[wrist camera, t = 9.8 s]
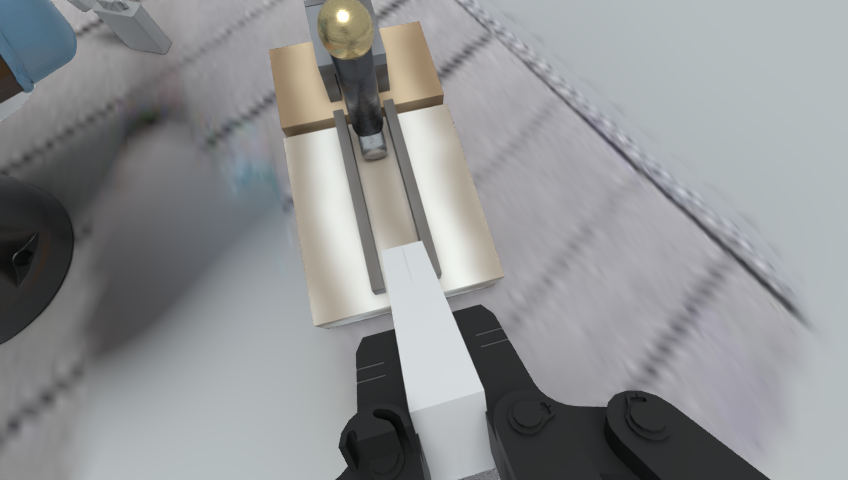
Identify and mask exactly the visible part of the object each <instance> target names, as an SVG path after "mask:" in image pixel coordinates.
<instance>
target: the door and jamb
mask: <svg viewBox="0 0 848 480" xmlns="http://www.w3.org/2000/svg"><path fill="white" fill-rule="evenodd" d="M326 1H327V0H306V1H304V5H305V10H306V14H307V19H308V24H309V28H310V33H311V38H312V42H307V43H302V44H297V45H292V46H286V47H281V48H276V49H271V50H269V55H270V61H271V67H272V73H273V79H274V85H275V91H276V97H277V104H278V110H279V116H280V122H281V128H282V130H283V131H284V133H285V135H286V136H287V138H283V140H284V146H285V153H286V159H287V165H288V171H289V177H290V183H291V189H292V196H293V202H294V208H295V214H296V220H297V226H298V232H299V238H300V245H301V251H302V257H303V263H304V269H305V275H306V281H307V287H308V294H309V300H310V306H311V312H312V318H313V324H314V326H316V327H321V328H326V329H330V328H334V327H338V326H341V325H345V324H349V323H353V322H357V321H360V320H364V319H368V318H372V317H376V316H379V315H383V314H387V313H391V312H392V310H391V304H390V298H389V292H388V287H387V281H386V275H385V269H384V264H383V258H382V252H381V251H382V250H386V249H390V248H394V247H398V246H402V245H406V244H410V243H414V242H418V241H422V242H423V245H424V247H425V249H426V252H427V254H428V257H429V259H430V261H431V264H432V266H433V269H434V271H435V273H436V276H437V278H438V281H439V283H440V285H441V288H442V290H443V293H444V295H445V297H446V298H448V297H452V296H455V295H459V294H463V293H467V292H471V291H474V290H478V289H482V288H486V287H490V286H493V285H495V284H496V283H497V282H498V281H499V280H501V279H502V278H503V277H504V273H503V270H502V267H501V264H500V261H499V258H498V255H497V252H496V249H495V246H494V243H493V240H492V237H491V234H490V231H489V228H488V225H487V222H486V219H485V216H484V213H483V210H482V207H481V204H480V201H479V198H478V195H477V192H476V189H475V186H474V183H473V180H472V177H471V174H470V171H469V168H468V165H467V162H466V159H465V156H464V153H463V150H462V147H461V144H460V141H459V139H458V136H457V133H456V130H455V127H454V124H453V121H452V118H451V115H450V112H449V109H448V106H447V104H443V96H444V94H443V91H442V88H441V85H440V82H439V79H438V76H437V73H436V70H435V67H434V64H433V61H432V58H431V55H430V52H429V49H428V46H427V43H426V40H425V37H424V34H423V31H422V28H421V25H420V22H419V21H418V22H413V23H408V24H402V25H397V26H392V27H386V28H381V29H379V28H378V24H377V21H376V17H375V14H374V10H373V7H372V3H371V0H358V1H360V2H361V3H362V4H363V5H364V6H365V7H366V9H367V10H368V12H369V14H370V15H371V18H372V21H373V25H374V38H373V42H372V45H371V48H372V54H373V60H374V66H375V73H376V79H377V85H378V91H379V97H380V104H381V110H382V116H383V122H384V125H383V128H382V130H383V134H384V138H385V142H386V146H387V153H386V154H385V155H384V156H382V157H380V158H377V159H366V158H364V157H363V156H362V153H361V149H360V145H359V140H358V136H357V134H356V133H355V132H354V130H353V128H352V125H351V121H350V118H349V115H348V111H347V108H346V105H345V102H344V98H343V95H342V92H341V89H340V85H339V82H338V79H337V76H336V72H335V69H334V66H333V62H332V59H331V56H330V53H329V52H328V51H327V50H326V49H325V48H324V46H323V45H322V43H321V41H320V39H319V36H318V32H317V16H318V13H319V10H320V8H321V7H322V5H323V4H324V3H325V2H326Z"/></svg>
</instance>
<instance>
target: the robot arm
mask: <svg viewBox="0 0 848 480" xmlns="http://www.w3.org/2000/svg"><path fill="white" fill-rule="evenodd" d="M76 48H77V40H76V36H75V33H74V31H73V29H72V27H71V26H70V24H69V23H68V21H67V20H66V19H65V18H64V16H63V15H62V14H61V13H60V11H59V10H58V9H57V8H56V7H55V5H54V4H53V3H52V2H51V1H50V0H0V104H1V103H3V102H5V101H6V100H8V99H10V98H12V97H13V96H15V95H17V94H19V93H21V92H22V91H23V92H25V93H29V92H32V90H33V89H34V84H35V83H37V82H38V81H40V80H42V79H43V78H45V77H46V76H48V75H49V74H51V73H52V72H54V71H56V70H57V69H59V68H60V67H62V66H63V65H65V64H67V63H68V62H69V61H71V59H72V58H73V57H74V55H75V53H76ZM71 252H72V230H71V225H70V222H69V219H68V216H67V214H66V212H65V210H64V209H63V207H62V206H61V205H60V204H59V202H58V201H57V200H56V199H55V198H53V197H52V196H51V195H49V194H48V193H46V192H45V191H43V190H41V189H38V188H36V187H33V186H31V185H29V184H26V183H24V182H21V181H19V180H17V179H14V178H11V177H8V176H4V175H1V174H0V343H2V342H4V341H5V340H7V339H9V338H10V337H12V336H13V335H15V334H16V333H17V332H19V331H20V330H21V329H23V328H24V327H25V326H26V325H27V324H29V323H30V322H31V321H32V320H33V319H34V318H35V317H36V316H37V315H38V314H39V313H40V312H41V311H42V310H43V308H44V307H45V306H46V305H47V304H48V302H49V301H50V300H51V298H52V297H53V295H54V294H55V292H56V291H57V289H58V287H59V286H60V284H61V282H62V280H63V278H64V276H65V273H66V271H67V268H68V265H69V261H70V257H71ZM381 252H382V258H383V264H384V269H385V275H386V281H387V287H388V292H389V298H390V304H391V310H392V315H393V321H394V327H395V329H393V330H389V331H385V332H382V333H378V334H374V335H371V336H367V337H363V339H362V341H361V343H360V345H359V347H358V350H357V352H356V369H357V412H358V413H356V414H355V415H354V416H353V417H352V418H351V419H350V420H349V421H348V423H347V425H346V426H345V428H344V430H343V431H342V433H341V438H340V443H339V449H340V451H341V453H342V455H343V457H344V459H345V461H346V463H347V465H348V467H347V468H346V469H345V471H344V472H343V473H342V474H341V475H340V476H339V477H338V478H337V479H336V480H459V479H462V478H465V477H468V476H471V475H474V474H478V473H481V472H484V471H487V470H490V469H493V468H495V464H496V467H497V470H498V472H499V475H500V478H501V480H770V479H769V478H768V477H766V476H765V475H764V474H762V473H761V472H760V471H758V470H757V469H756V468H754V467H753V466H752V465H750V464H749V463H748V462H747V461H745V460H744V459H743V458H741V457H740V456H739V455H737V454H736V453H735V452H733V451H732V450H731V449H729V448H728V447H727V446H726V445H724V444H723V443H722V442H720V441H719V440H718V439H716V438H715V437H714V436H712V435H711V434H710V433H708V432H707V431H706V430H705V429H703V428H702V427H701V426H699V425H698V424H697V423H695V422H694V421H693V420H691V419H690V418H689V417H687V416H686V415H685V414H684V413H682V412H681V411H680V410H678V409H677V408H676V407H674V406H673V405H672V404H670V403H668V402H667V401H665V400H663V399H662V398H660V397H658V396H656V395H653V394H650V393H646V392H643V391H624V392H621V393H619V394H616V395H614V397H613V398H612V399H611V400H610V401H609V402H608V405H607V407H584V406H571V405H566V404H562V403H559V402H556V401H555V400H553V399H551V398H549V397H547V396H546V395H545V394H544V393H543V392H541V391H540V390H539V389H538V387H537V386H536V385H535V383H534V382H533V380H532V378H531V377H530V375H529V373H528V371H527V370H526V368H525V366H524V365H523V363H522V361H521V360H520V358H519V356H518V354H517V353H516V351H515V349H514V348H513V346H512V344H511V342H510V341H509V340H508V337H507V336H506V334H505V332H504V330H503V329H502V327H501V325H500V324H499V322H498V320H497V318H496V317H495V315H494V314H493V313H492V312H491V311H489V310H488V309H486V308H485V307H483V306H482V305H481V304H480V305H477V306H473V307H469V308H466V309H462V310H458V311H455V312H451V309H450V307H449V305H448V302H447V300H446V297H445V295H444V293H443V290H442V288H441V285H440V283H439V281H438V278H437V276H436V273H435V271H434V269H433V266H432V264H431V261H430V259H429V257H428V254H427V252H426V249H425V247H424V245H423V242H422V241H418V242H414V243H410V244H406V245H402V246H398V247H394V248H390V249H386V250H382V251H381ZM494 462H495V464H494Z"/></svg>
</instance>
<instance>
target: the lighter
mask: <svg viewBox="0 0 848 480" xmlns="http://www.w3.org/2000/svg"><path fill="white" fill-rule="evenodd" d="M67 1H69V2H70V3H71V4H73V5H74V6H76V7H77V8H78V9H80V10H81V11H82V12H87V11H89V10H90V9H92V10H93V11H94V12H95V13H96V14H97V15H98V16H99V17H100V18H101V19H102V20H103V21H104V22H105V23H106V24H107V25H108V26H109V27H110V28H111V29H112V30H113V31H114V32H115V33H116V34H117V36H118V37H119V38H120V39H121V40H122V41H123V42H124V43H125V44H126V45H127V46H128V47H129V48H131V49H137V50H142V51H148V52H153V53H159V54H166V53H167V51H168V49H169V48H170V46H171V44H172V43H171V41H170V40H169V39H168V37H167V36H166V35H165V34H164V32H163V31H162V30H161V29H160V28H159V26H158V25H157V24H156V23H155V21H154V20H153V19H152V18H151V17H150V15H149V14H148V13H147V12H146V10H145V9H144V8H143V7H142V5H141V4H140V3H137V2H131V1H125V0H67Z"/></svg>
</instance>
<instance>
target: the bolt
mask: <svg viewBox="0 0 848 480" xmlns="http://www.w3.org/2000/svg"><path fill="white" fill-rule="evenodd" d="M317 32H318V36H319V39H320V41H321V43H322V45H323V46H324V48H325V49H326V50H327V51H328V52H329V53H330V56H331V59H332V62H333V66H334V69H335V72H336V76H337V79H338V82H339V85H340V89H341V92H342V95H343V98H344V102H345V105H346V108H347V111H348V115H349V118H350V121H351V125H352V128H353V130H354V132H355V133H356V134H357V136H358V140H359V145H360V149H361V153H362V156H363V157H364V158H366V159H377V158H380V157H382V156H384V155H385V154H386V153H387V146H386V142H385V138H384V134H383V130H382V128H383V125H384V122H383V116H382V110H381V104H380V97H379V91H378V85H377V79H376V73H375V66H374V60H373V54H372V48H371V45H372V42H373V38H374V25H373V21H372V18H371V15H370V14H369V12H368V10H367V9H366V7H365V6H364V5H363V4H362V3H361V2H360V1H358V0H327V1H326V2H325V3H324V4H323V5H322V7H321V8H320V10H319V13H318V16H317Z"/></svg>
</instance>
